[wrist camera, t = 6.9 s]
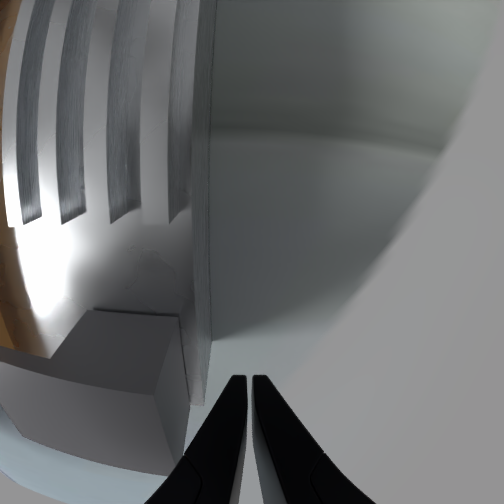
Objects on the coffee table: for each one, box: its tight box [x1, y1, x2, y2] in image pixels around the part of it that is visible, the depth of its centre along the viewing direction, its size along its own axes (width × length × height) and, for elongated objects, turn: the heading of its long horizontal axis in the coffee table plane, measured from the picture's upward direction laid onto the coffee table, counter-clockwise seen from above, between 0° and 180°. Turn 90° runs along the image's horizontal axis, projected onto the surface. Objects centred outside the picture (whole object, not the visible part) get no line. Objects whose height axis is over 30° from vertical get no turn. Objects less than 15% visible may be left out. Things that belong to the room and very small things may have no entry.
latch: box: [0, 310, 190, 476], centre depth 7 cm, size 4×6×3 cm, turn 88°
